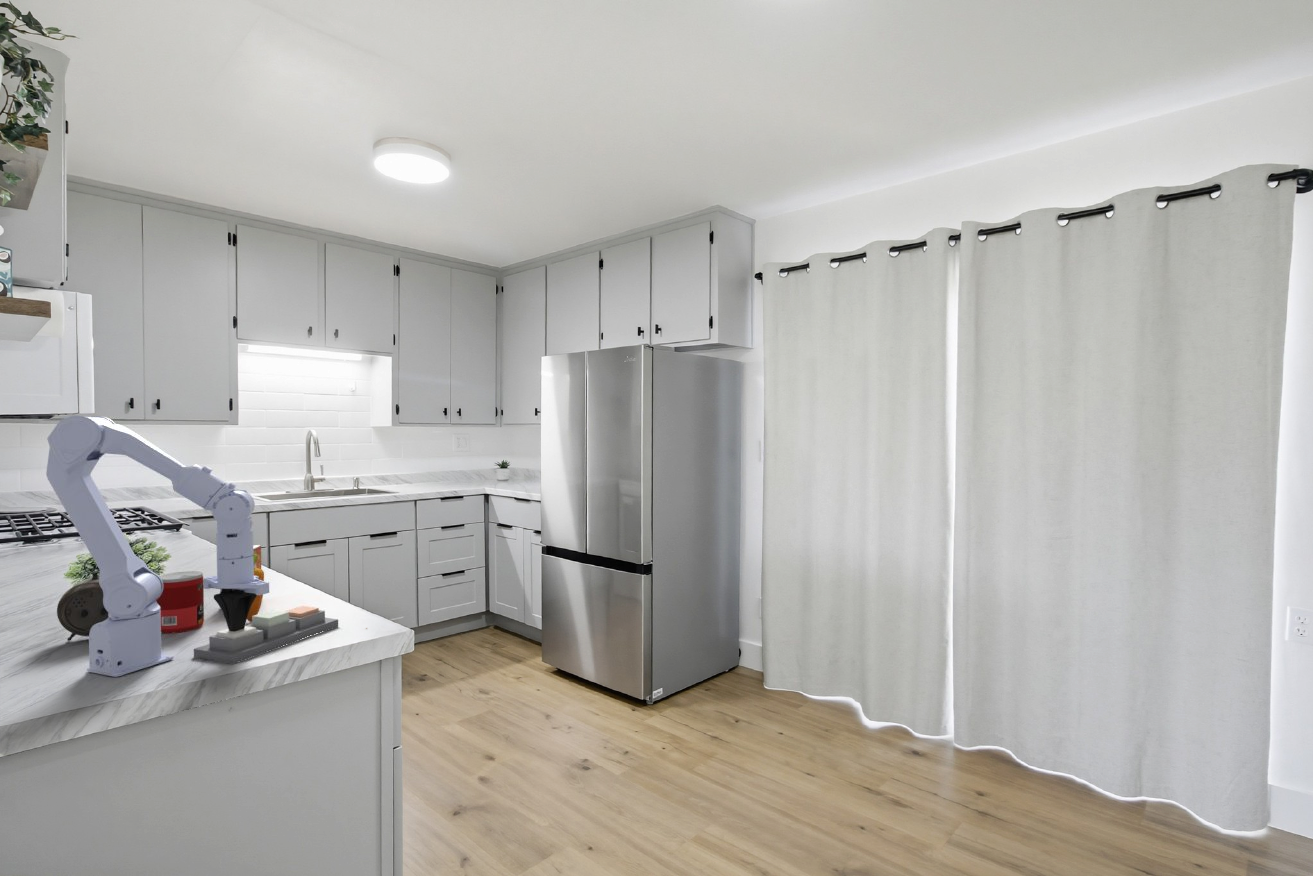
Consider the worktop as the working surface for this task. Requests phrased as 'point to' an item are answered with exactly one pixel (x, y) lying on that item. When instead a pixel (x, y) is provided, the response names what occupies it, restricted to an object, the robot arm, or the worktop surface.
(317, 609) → the terracotta key
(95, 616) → the alarm clock
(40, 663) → the worktop surface
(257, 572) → the carrot
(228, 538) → the robot arm
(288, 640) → the keypad console
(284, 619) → the sage key
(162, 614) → the canned food
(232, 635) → the offwhite key
